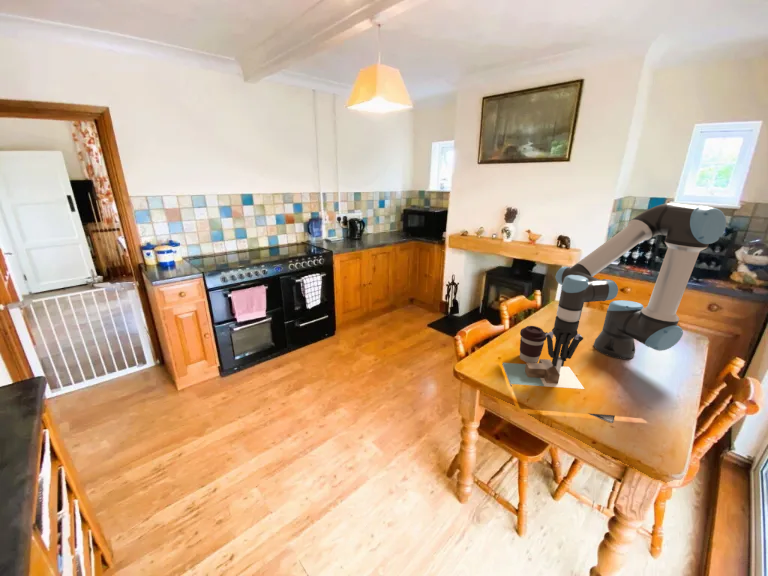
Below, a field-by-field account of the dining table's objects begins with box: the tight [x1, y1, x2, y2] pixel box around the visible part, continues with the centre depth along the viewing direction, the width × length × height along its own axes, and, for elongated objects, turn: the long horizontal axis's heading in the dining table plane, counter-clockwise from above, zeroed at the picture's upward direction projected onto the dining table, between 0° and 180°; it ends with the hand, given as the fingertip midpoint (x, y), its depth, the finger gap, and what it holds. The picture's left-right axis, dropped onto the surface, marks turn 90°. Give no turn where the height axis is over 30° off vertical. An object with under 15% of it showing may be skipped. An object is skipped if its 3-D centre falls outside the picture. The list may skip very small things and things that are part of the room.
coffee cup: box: [519, 325, 547, 363], centre depth 135 cm, size 10×10×15 cm
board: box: [502, 362, 585, 390], centre depth 126 cm, size 26×14×1 cm, turn 83°
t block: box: [525, 358, 560, 384], centre depth 125 cm, size 10×10×4 cm
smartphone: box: [588, 413, 616, 424], centre depth 111 cm, size 7×1×15 cm
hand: (555, 372), depth 125 cm, fingers closed
